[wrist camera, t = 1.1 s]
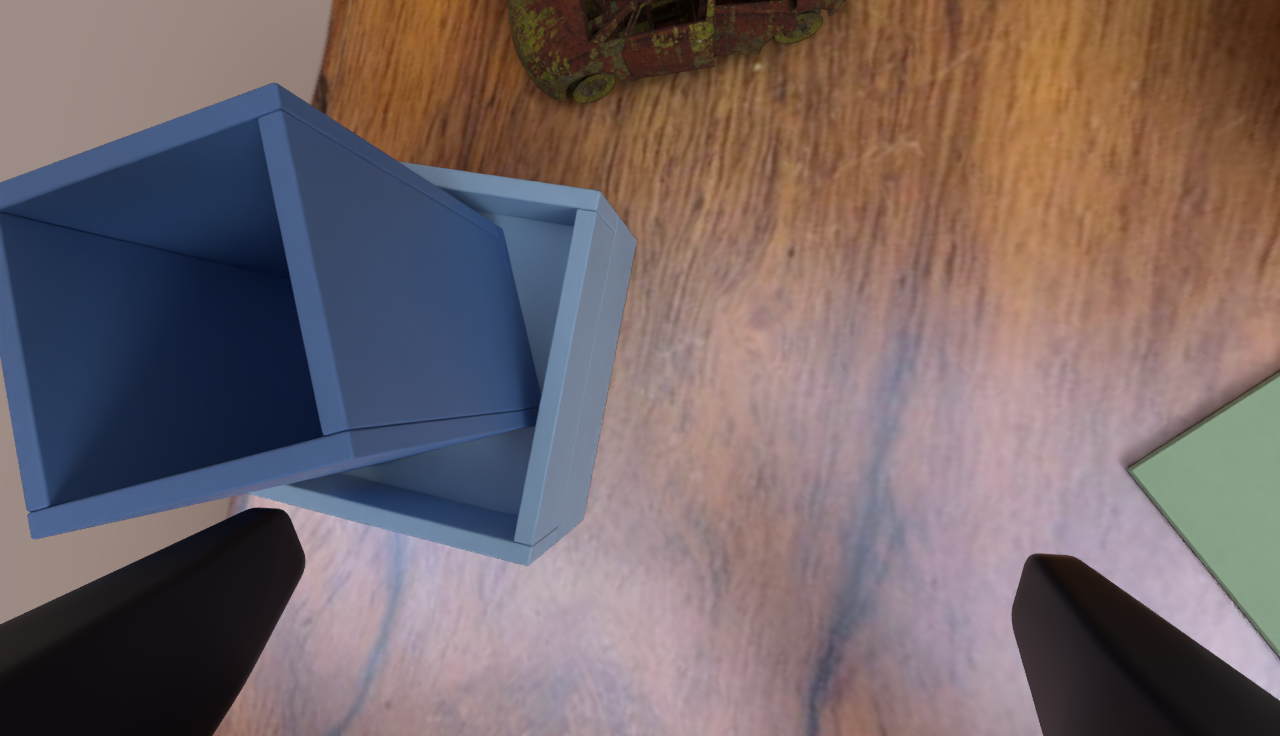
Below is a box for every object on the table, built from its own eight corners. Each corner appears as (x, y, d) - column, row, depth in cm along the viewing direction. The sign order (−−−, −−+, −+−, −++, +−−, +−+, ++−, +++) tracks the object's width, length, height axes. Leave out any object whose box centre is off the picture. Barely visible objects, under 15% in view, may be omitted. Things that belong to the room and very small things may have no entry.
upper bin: (548, 422, 20) (354, 459, 10) (367, 466, 21) (29, 540, 11) (502, 227, 20) (274, 80, 10) (328, 280, 21) (-31, 192, 11)
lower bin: (583, 520, 23) (528, 567, 17) (331, 459, 25) (203, 483, 19) (637, 239, 23) (601, 190, 17) (381, 199, 25) (268, 141, 19)
